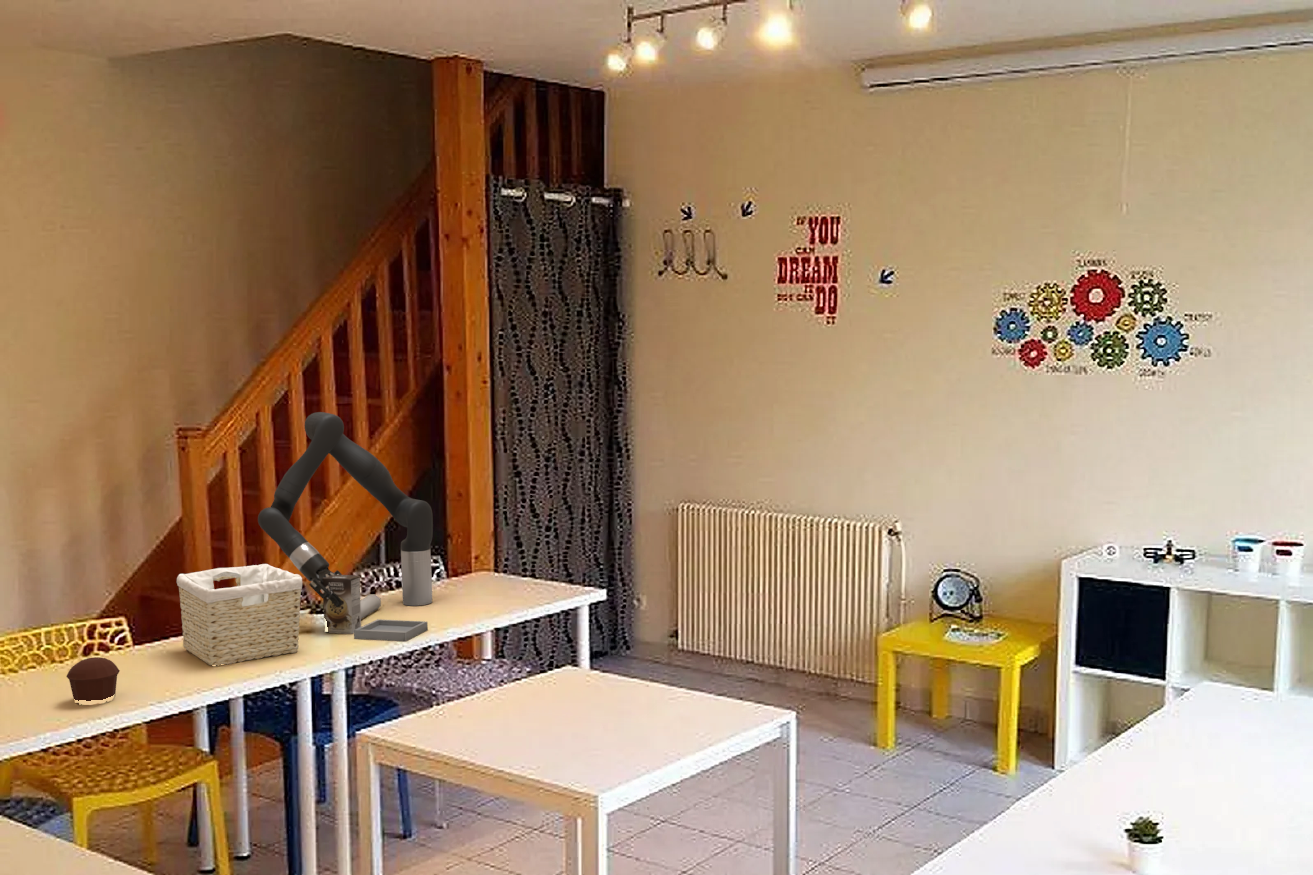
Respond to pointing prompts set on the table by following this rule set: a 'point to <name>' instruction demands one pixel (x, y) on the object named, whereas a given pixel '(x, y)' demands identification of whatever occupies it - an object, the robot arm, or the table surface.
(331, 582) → the coffee box
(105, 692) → the muffin
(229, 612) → the basket
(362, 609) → the tube
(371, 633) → the dish
